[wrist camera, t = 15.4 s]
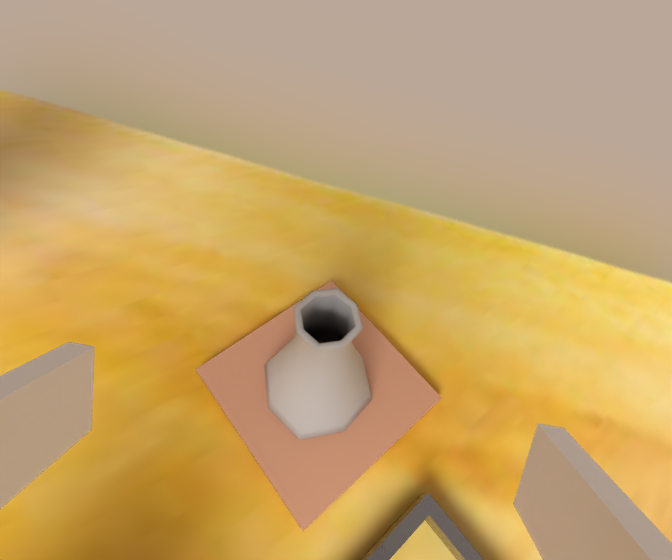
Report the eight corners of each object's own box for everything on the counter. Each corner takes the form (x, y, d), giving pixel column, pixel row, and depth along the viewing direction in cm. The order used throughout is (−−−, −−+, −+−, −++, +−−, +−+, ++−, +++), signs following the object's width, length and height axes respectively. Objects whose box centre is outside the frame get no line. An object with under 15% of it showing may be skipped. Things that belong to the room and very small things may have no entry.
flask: (246, 361, 27) (225, 286, 18) (337, 319, 29) (355, 235, 21) (292, 461, 24) (291, 427, 15) (389, 405, 26) (435, 349, 18)
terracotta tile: (198, 373, 27) (195, 369, 26) (330, 285, 32) (331, 280, 31) (303, 530, 22) (303, 531, 22) (438, 401, 27) (441, 397, 27)
